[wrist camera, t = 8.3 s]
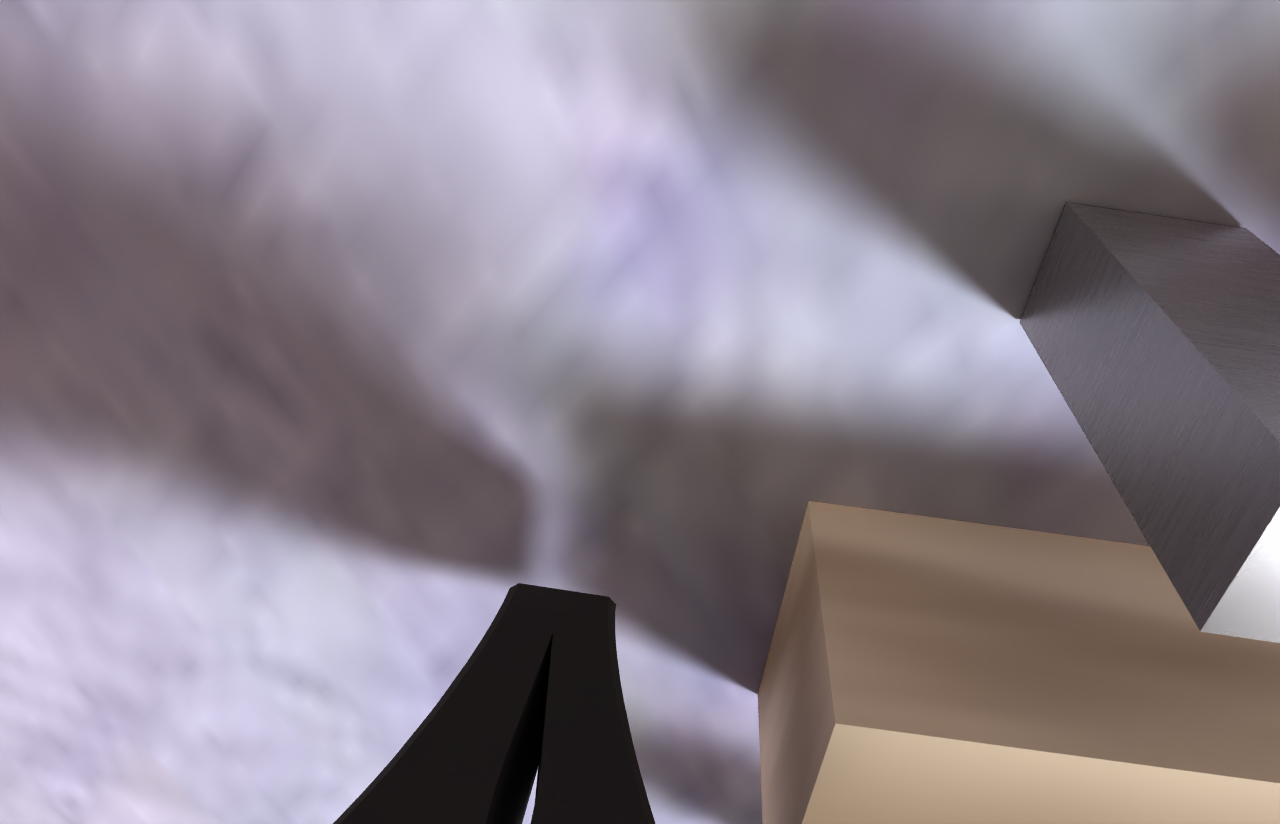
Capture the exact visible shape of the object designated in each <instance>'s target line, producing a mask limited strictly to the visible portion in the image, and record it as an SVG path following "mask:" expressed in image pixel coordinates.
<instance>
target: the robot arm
mask: <svg viewBox="0 0 1280 824" xmlns="http://www.w3.org/2000/svg"><path fill="white" fill-rule="evenodd" d="M615 609H616V604H615V603H614V602H613V601H612V600H611V599H610V598H609V597H607V596H600V595H593V594H587V593H580V592H573V591H567V590H560V589H554V588H547V587H540V586H534V585H527V584H520V583H518V584H517V585H515V586H513V587H511V588H510V589H509V591H508V593H507V596H506V598H505V600H504V602H503V604H502V606H501V608H500V609H499V611H498V613H497V615H496V617H495V618H494V620H493V622H492V624H491V625H490V627H489V629H488V630H487V632H486V634H485V635H484V637H483V638H482V640H481V642H480V643H479V645H478V646H477V648H476V649H475V651H474V652H473V654H472V655H471V657H470V658H469V660H468V661H467V663H466V664H465V666H464V667H463V668H462V670H461V671H460V673H459V674H458V675H457V677H456V678H455V680H454V681H453V682H452V684H451V685H450V687H449V688H448V689H447V691H446V692H445V694H444V695H443V696H442V698H441V699H440V701H439V702H438V703H437V705H436V706H435V707H434V708H433V710H432V711H431V712H430V714H429V715H428V716H427V717H426V719H425V720H424V721H423V722H422V724H421V725H420V726H419V727H418V728H417V730H416V731H415V732H414V733H413V735H412V736H411V737H410V738H409V740H408V741H407V742H406V743H405V744H404V746H403V747H402V748H401V749H400V751H399V752H398V753H397V754H396V756H395V757H394V758H393V759H392V760H391V761H390V763H389V764H388V765H387V766H386V767H385V768H384V769H383V771H382V772H381V773H380V774H379V775H378V776H377V777H376V778H375V780H374V781H373V782H372V783H371V784H370V785H369V786H368V787H367V788H366V789H365V791H364V792H363V793H362V794H361V795H360V796H359V797H358V798H357V799H356V800H355V801H354V802H353V803H352V804H351V805H350V807H349V808H348V809H347V810H346V811H345V812H344V813H343V814H342V815H341V816H340V817H339V818H338V819H337V820H336V821H335V822H334V823H333V824H522V822H523V818H524V815H525V811H526V808H527V804H528V801H529V797H530V794H531V790H532V787H533V783H534V780H535V776H536V772H537V769H538V776H537V787H536V797H535V806H534V811H533V815H532V820H531V824H655V821H654V818H653V814H652V811H651V808H650V805H649V802H648V798H647V795H646V791H645V787H644V784H643V780H642V777H641V773H640V770H639V766H638V762H637V758H636V754H635V750H634V746H633V742H632V737H631V733H630V728H629V723H628V719H627V714H626V709H625V705H624V700H623V694H622V688H621V682H620V675H619V668H618V660H617V651H616V639H615ZM538 765H539V766H538Z"/></svg>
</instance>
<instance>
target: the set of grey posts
mask: <svg viewBox="0 0 1280 824" xmlns="http://www.w3.org/2000/svg"><path fill="white" fill-rule="evenodd" d="M1020 324H1021V326H1022V327H1023V329H1024V331H1025V332H1026V334H1027V336H1028V338H1029V339H1030V341H1031V343H1032V344H1033V346H1034V348H1035V350H1036V351H1037V353H1038V355H1039V356H1040V358H1041V360H1042V361H1043V363H1044V365H1045V367H1046V368H1047V370H1048V372H1049V373H1050V375H1051V377H1052V379H1053V380H1054V382H1055V384H1056V385H1057V387H1058V389H1059V391H1060V392H1061V394H1062V396H1063V397H1064V399H1065V401H1066V403H1067V404H1068V406H1069V408H1070V409H1071V411H1072V413H1073V415H1074V416H1075V418H1076V420H1077V421H1078V423H1079V425H1080V427H1081V428H1082V430H1083V432H1084V433H1085V435H1086V437H1087V439H1088V440H1089V442H1090V444H1091V445H1092V447H1093V449H1094V451H1095V452H1096V454H1097V456H1098V457H1099V459H1100V461H1101V463H1102V464H1103V466H1104V468H1105V469H1106V471H1107V473H1108V474H1109V476H1110V478H1111V480H1112V481H1113V483H1114V485H1115V486H1116V488H1117V490H1118V492H1119V493H1120V495H1121V497H1122V498H1123V500H1124V502H1125V504H1126V505H1127V507H1128V509H1129V510H1130V512H1131V514H1132V516H1133V517H1134V519H1135V521H1136V522H1137V524H1138V526H1139V528H1140V529H1141V531H1142V533H1143V534H1144V536H1145V538H1146V540H1147V541H1148V543H1149V545H1150V546H1151V548H1152V550H1153V552H1154V553H1155V555H1156V557H1157V558H1158V560H1159V562H1160V564H1161V565H1162V567H1163V569H1164V570H1165V572H1166V574H1167V575H1168V577H1169V579H1170V581H1171V582H1172V584H1173V586H1174V587H1175V589H1176V591H1177V593H1178V594H1179V596H1180V598H1181V599H1182V601H1183V603H1184V605H1185V606H1186V608H1187V610H1188V611H1189V613H1190V615H1191V617H1192V618H1193V620H1194V622H1195V623H1196V625H1197V627H1198V629H1199V630H1200V632H1207V633H1213V634H1220V635H1227V636H1234V637H1241V638H1248V639H1255V640H1262V641H1269V642H1275V643H1280V255H1279V254H1278V253H1277V252H1275V251H1274V250H1273V249H1272V248H1270V247H1269V246H1268V245H1266V244H1265V243H1264V242H1263V241H1261V240H1260V239H1259V238H1258V237H1256V236H1255V235H1254V234H1252V233H1251V232H1250V231H1249V230H1247V229H1246V228H1240V227H1233V226H1226V225H1219V224H1212V223H1205V222H1198V221H1191V220H1185V219H1178V218H1171V217H1164V216H1157V215H1150V214H1143V213H1136V212H1129V211H1122V210H1115V209H1108V208H1102V207H1095V206H1088V205H1081V204H1074V203H1067V202H1066V205H1065V207H1064V210H1063V212H1062V215H1061V217H1060V220H1059V223H1058V225H1057V228H1056V230H1055V233H1054V236H1053V238H1052V241H1051V243H1050V246H1049V248H1048V251H1047V254H1046V256H1045V259H1044V261H1043V264H1042V266H1041V269H1040V272H1039V274H1038V277H1037V279H1036V282H1035V285H1034V287H1033V290H1032V292H1031V295H1030V297H1029V300H1028V303H1027V305H1026V308H1025V310H1024V313H1023V315H1022V318H1021V321H1020Z"/></svg>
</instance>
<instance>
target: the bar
mask: <svg viewBox="0 0 1280 824" xmlns="http://www.w3.org/2000/svg"><path fill="white" fill-rule="evenodd" d="M758 713H759V741H760V768H761V796H762V823H763V824H1280V643H1275V642H1269V641H1262V640H1255V639H1248V638H1241V637H1234V636H1227V635H1220V634H1213V633H1207V632H1200V630H1199V629H1198V627H1197V625H1196V623H1195V622H1194V620H1193V618H1192V617H1191V615H1190V613H1189V611H1188V610H1187V608H1186V606H1185V605H1184V603H1183V601H1182V599H1181V598H1180V596H1179V594H1178V593H1177V591H1176V589H1175V587H1174V586H1173V584H1172V582H1171V581H1170V579H1169V577H1168V575H1167V574H1166V572H1165V570H1164V569H1163V567H1162V565H1161V564H1160V562H1159V560H1158V558H1157V557H1156V555H1155V553H1154V552H1153V550H1152V548H1151V546H1145V545H1138V544H1130V543H1123V542H1115V541H1108V540H1100V539H1093V538H1085V537H1078V536H1070V535H1063V534H1055V533H1048V532H1040V531H1033V530H1025V529H1018V528H1010V527H1003V526H995V525H988V524H980V523H973V522H965V521H958V520H950V519H943V518H935V517H928V516H920V515H912V514H905V513H897V512H890V511H882V510H875V509H867V508H860V507H852V506H845V505H837V504H830V503H822V502H815V501H808V504H807V508H806V512H805V516H804V520H803V523H802V527H801V531H800V535H799V539H798V542H797V546H796V550H795V554H794V558H793V562H792V565H791V569H790V573H789V577H788V581H787V585H786V588H785V592H784V596H783V600H782V604H781V608H780V611H779V615H778V619H777V623H776V627H775V631H774V634H773V638H772V642H771V646H770V650H769V653H768V657H767V661H766V665H765V669H764V673H763V676H762V680H761V684H760V688H759V692H758Z"/></svg>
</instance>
